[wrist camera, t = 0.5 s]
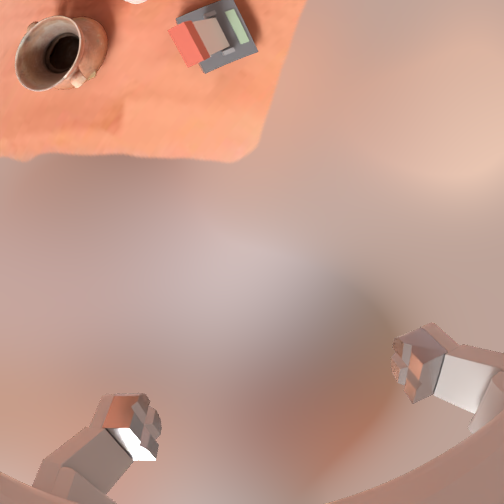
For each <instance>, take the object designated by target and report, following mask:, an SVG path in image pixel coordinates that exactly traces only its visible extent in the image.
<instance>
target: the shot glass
mask: <svg viewBox="0 0 504 504" xmlns="http://www.w3.org/2000/svg"><path fill="white" fill-rule="evenodd" d="M125 1H127V2H130V3H132V4H140V3H143V2H145V1H147V0H125Z"/></svg>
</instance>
